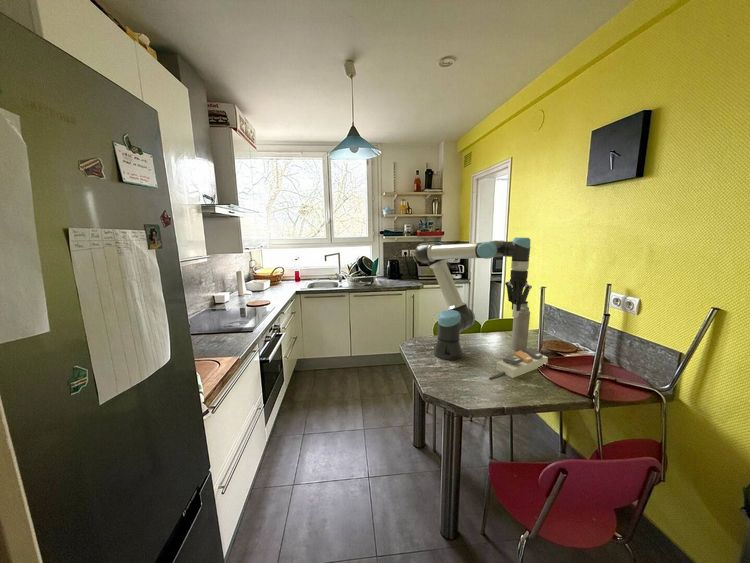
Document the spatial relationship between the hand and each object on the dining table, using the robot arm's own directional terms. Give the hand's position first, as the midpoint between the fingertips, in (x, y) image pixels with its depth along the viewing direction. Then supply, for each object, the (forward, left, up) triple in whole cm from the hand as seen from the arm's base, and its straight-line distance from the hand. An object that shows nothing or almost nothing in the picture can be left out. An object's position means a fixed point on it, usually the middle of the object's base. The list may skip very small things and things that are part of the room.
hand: (515, 316), depth 146 cm
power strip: (+6, -5, -24) cm, 26 cm away
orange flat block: (+6, 0, -19) cm, 20 cm away
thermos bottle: (-9, +19, -25) cm, 32 cm away
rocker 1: (+6, -8, -19) cm, 22 cm away
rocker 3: (+6, +8, -19) cm, 22 cm away
